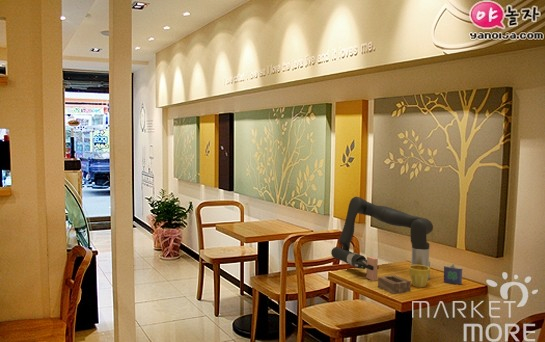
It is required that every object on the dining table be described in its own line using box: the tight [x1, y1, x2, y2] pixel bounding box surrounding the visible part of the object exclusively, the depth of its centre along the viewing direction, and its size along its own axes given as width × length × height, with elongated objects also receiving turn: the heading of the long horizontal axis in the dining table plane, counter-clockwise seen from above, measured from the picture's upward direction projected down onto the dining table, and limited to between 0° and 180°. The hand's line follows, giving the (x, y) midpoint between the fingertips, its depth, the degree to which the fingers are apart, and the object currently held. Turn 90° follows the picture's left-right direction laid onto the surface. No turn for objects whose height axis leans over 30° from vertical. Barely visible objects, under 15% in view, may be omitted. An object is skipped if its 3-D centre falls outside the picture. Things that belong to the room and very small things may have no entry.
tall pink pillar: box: [366, 256, 379, 282], centre depth 260 cm, size 2×6×12 cm, turn 27°
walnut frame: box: [377, 274, 412, 295], centre depth 244 cm, size 11×13×5 cm
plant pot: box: [408, 265, 431, 288], centre depth 250 cm, size 10×10×10 cm
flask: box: [443, 263, 463, 286], centre depth 254 cm, size 9×3×11 cm, turn 63°
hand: (375, 268), depth 257 cm, fingers open, 3 cm apart
